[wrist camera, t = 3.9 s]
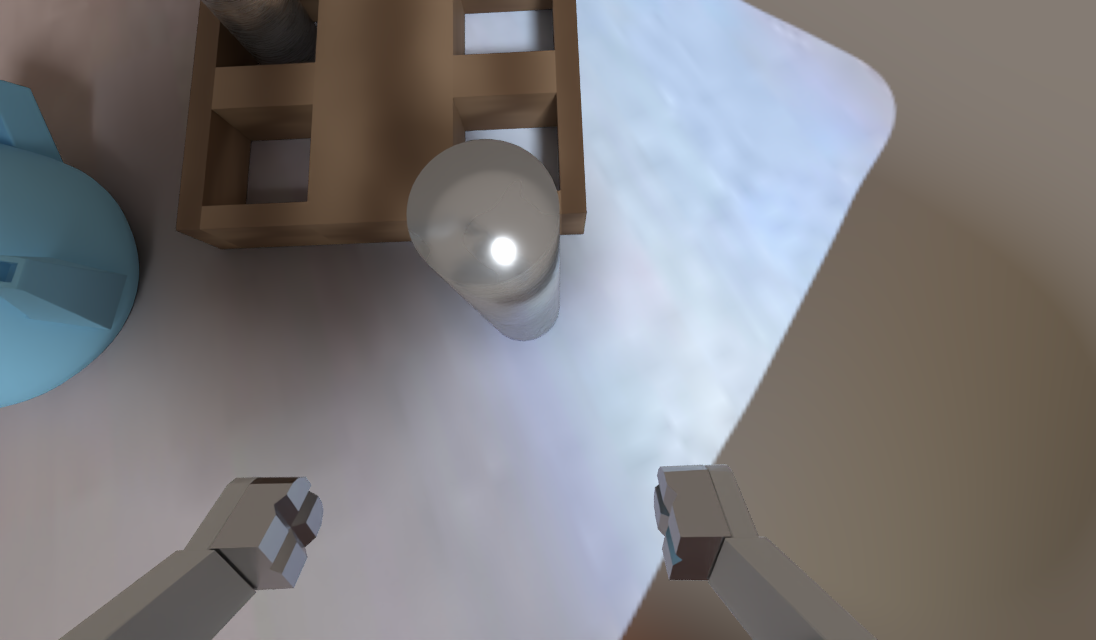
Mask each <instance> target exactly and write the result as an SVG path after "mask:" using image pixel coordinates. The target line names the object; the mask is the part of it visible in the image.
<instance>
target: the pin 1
mask: <svg viewBox="0 0 1096 640" xmlns="http://www.w3.org/2000/svg"><path fill="white" fill-rule="evenodd" d="M201 1H202V2H203V3H204V4H205V5H206V6H207V7H208V9H209V10H210V11H211V12H212V13H213V14H214V15H215V16H216V17H217V18H218V19H219V20H220V22H221V23H222V24H223V25H224V26H225V27H226V28H227V29H228V30H229V31H230V32H231V33H232V35H233V36H234V37H235V38H236V39H237V40H238V41H239V42H240V43H241V44H242V45H243V46H244V48H245V49H246V50H247V51H248V52H249V53H250V54H251V55H252V56H253V57H254V58H255V59H256V61H257V62H258V63H259V64H260V65H273V64H293V63H313V62H315V59H316V42H317V27H316V25H315V24H314V22H313V21H312V19H311V18H310V16H309V15H308V13H307V12H306V10H305V9H304V7H303V6H302V4H301V3H300V1H299V0H201Z"/></svg>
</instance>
